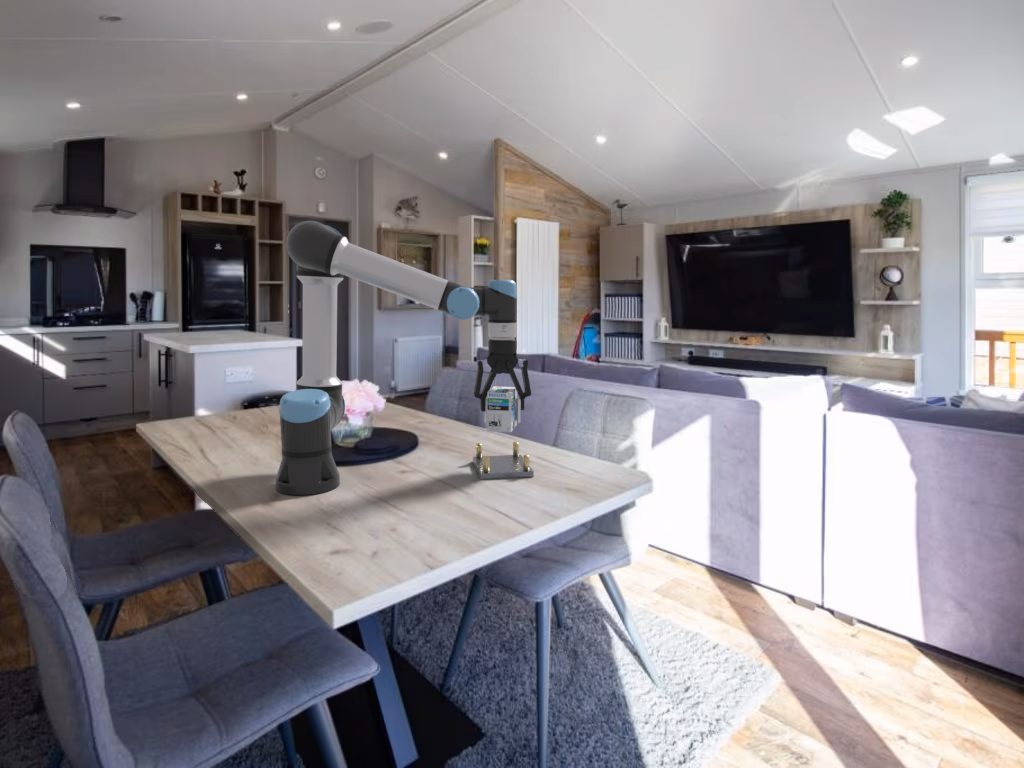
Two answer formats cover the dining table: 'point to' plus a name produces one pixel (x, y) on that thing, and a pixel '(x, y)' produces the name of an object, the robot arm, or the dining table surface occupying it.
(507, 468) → the chassis
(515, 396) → the light bulb box
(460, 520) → the dining table surface
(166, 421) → the dining table surface
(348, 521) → the dining table surface
